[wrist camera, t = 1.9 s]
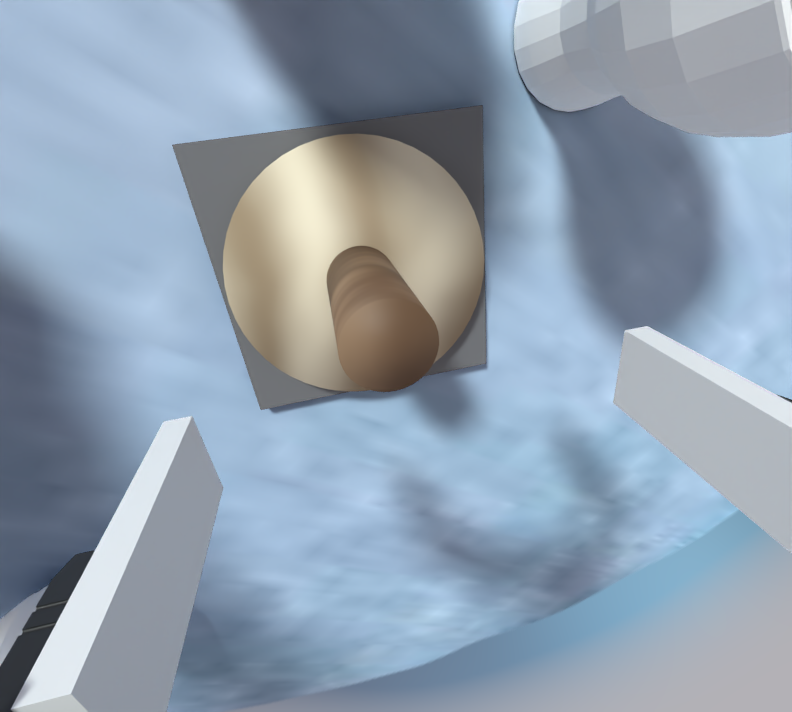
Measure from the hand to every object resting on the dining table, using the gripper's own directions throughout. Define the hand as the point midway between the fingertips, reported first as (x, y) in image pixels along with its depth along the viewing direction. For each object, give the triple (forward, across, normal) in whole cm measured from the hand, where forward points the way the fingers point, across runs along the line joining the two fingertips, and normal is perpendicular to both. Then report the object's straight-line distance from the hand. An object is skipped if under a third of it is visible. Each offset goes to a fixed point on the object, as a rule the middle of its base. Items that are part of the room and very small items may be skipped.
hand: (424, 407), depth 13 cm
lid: (+14, 0, 0) cm, 14 cm away
